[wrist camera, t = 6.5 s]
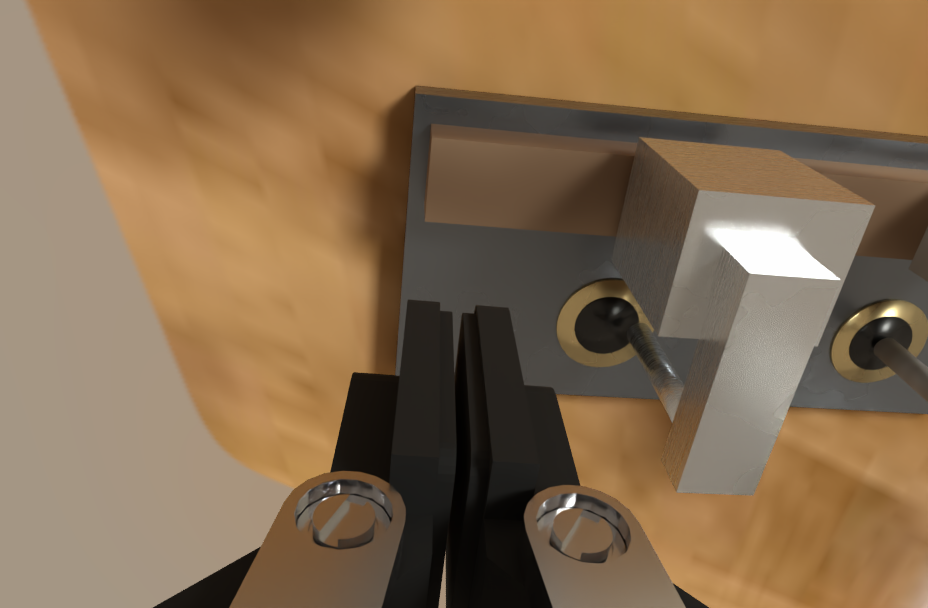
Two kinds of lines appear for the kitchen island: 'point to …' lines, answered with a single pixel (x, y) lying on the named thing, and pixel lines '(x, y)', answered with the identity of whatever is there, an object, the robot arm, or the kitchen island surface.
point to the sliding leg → (731, 293)
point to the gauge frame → (604, 189)
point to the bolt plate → (602, 287)
